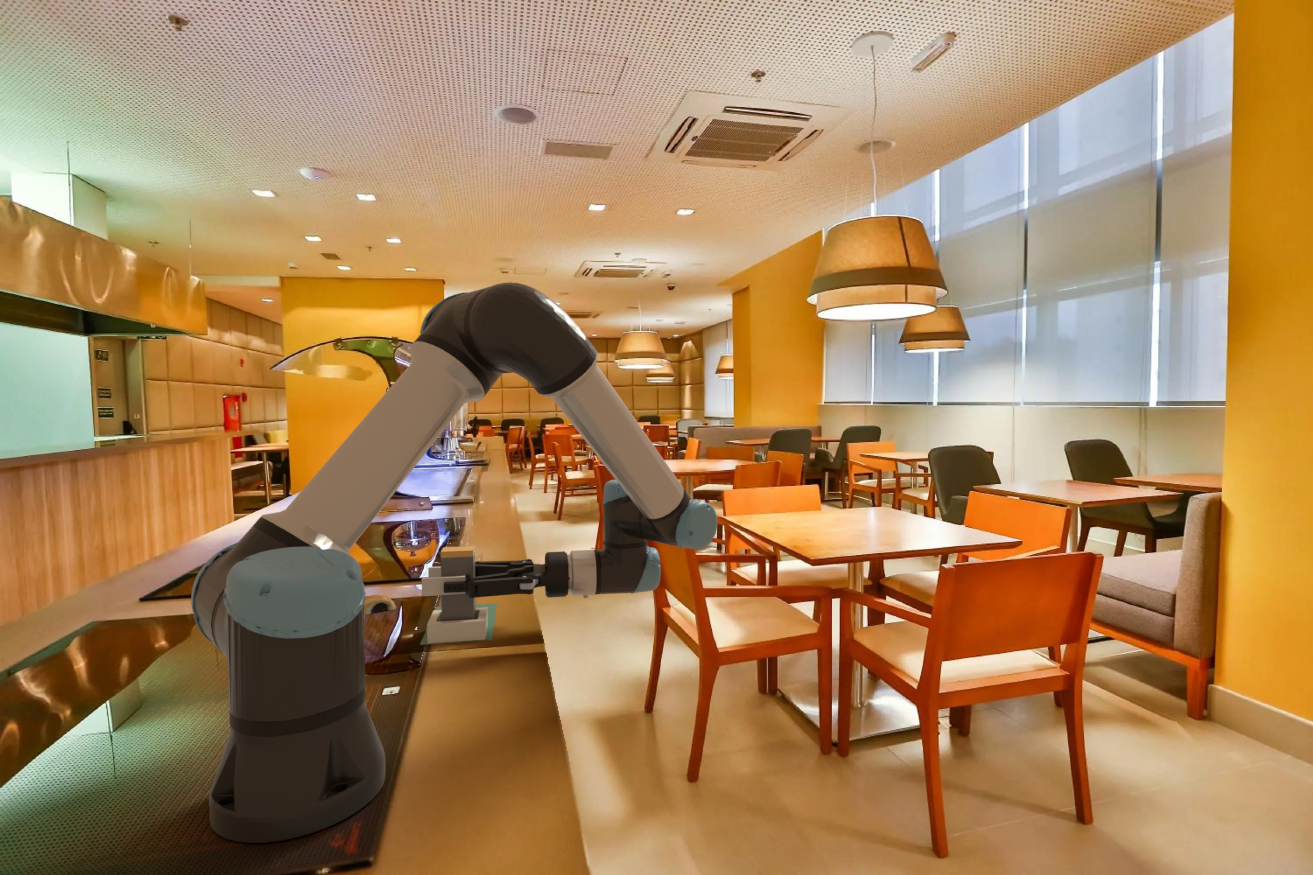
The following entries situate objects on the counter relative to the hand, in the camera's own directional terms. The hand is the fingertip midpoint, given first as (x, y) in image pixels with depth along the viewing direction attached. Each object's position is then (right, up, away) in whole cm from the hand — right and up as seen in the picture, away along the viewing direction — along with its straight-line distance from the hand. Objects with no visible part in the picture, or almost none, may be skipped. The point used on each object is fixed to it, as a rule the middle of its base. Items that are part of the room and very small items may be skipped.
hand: (425, 580), depth 105 cm
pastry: (-15, -10, +16) cm, 24 cm away
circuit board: (+4, -10, +7) cm, 13 cm away
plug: (+5, -9, +1) cm, 10 cm away
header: (+5, -9, +1) cm, 10 cm away
